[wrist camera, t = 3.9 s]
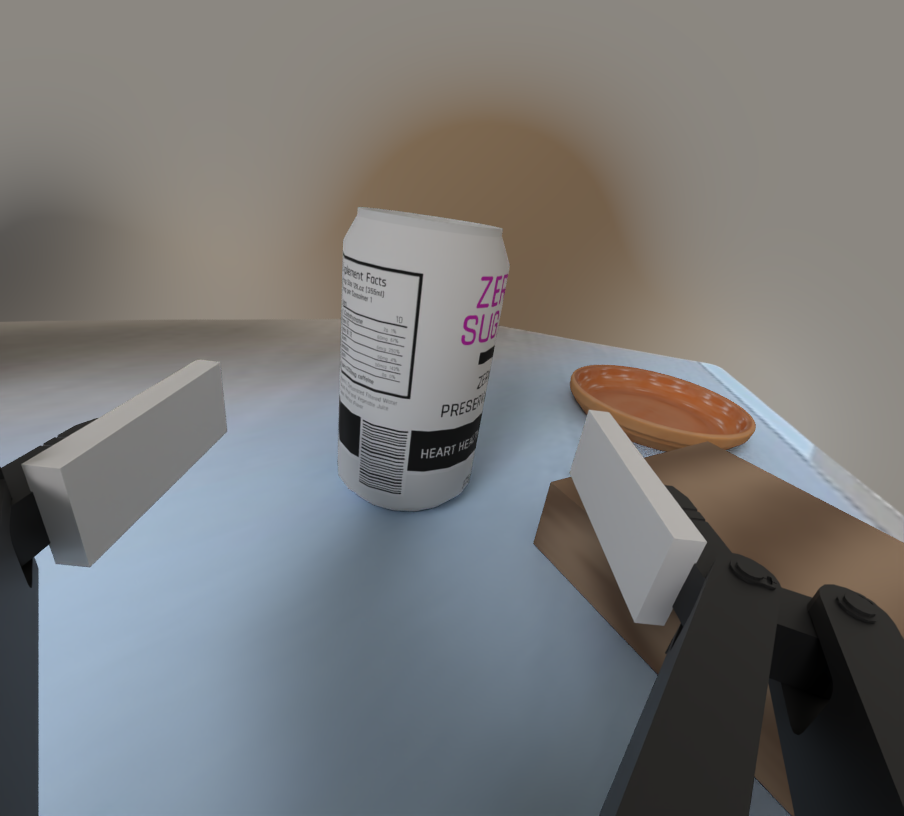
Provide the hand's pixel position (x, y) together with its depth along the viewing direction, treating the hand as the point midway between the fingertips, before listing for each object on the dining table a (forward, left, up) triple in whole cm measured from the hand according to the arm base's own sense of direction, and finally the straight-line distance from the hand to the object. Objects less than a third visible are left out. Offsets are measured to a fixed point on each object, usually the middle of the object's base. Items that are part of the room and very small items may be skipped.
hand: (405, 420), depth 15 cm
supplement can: (-8, +4, -9) cm, 12 cm away
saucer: (-9, +30, -9) cm, 33 cm away
